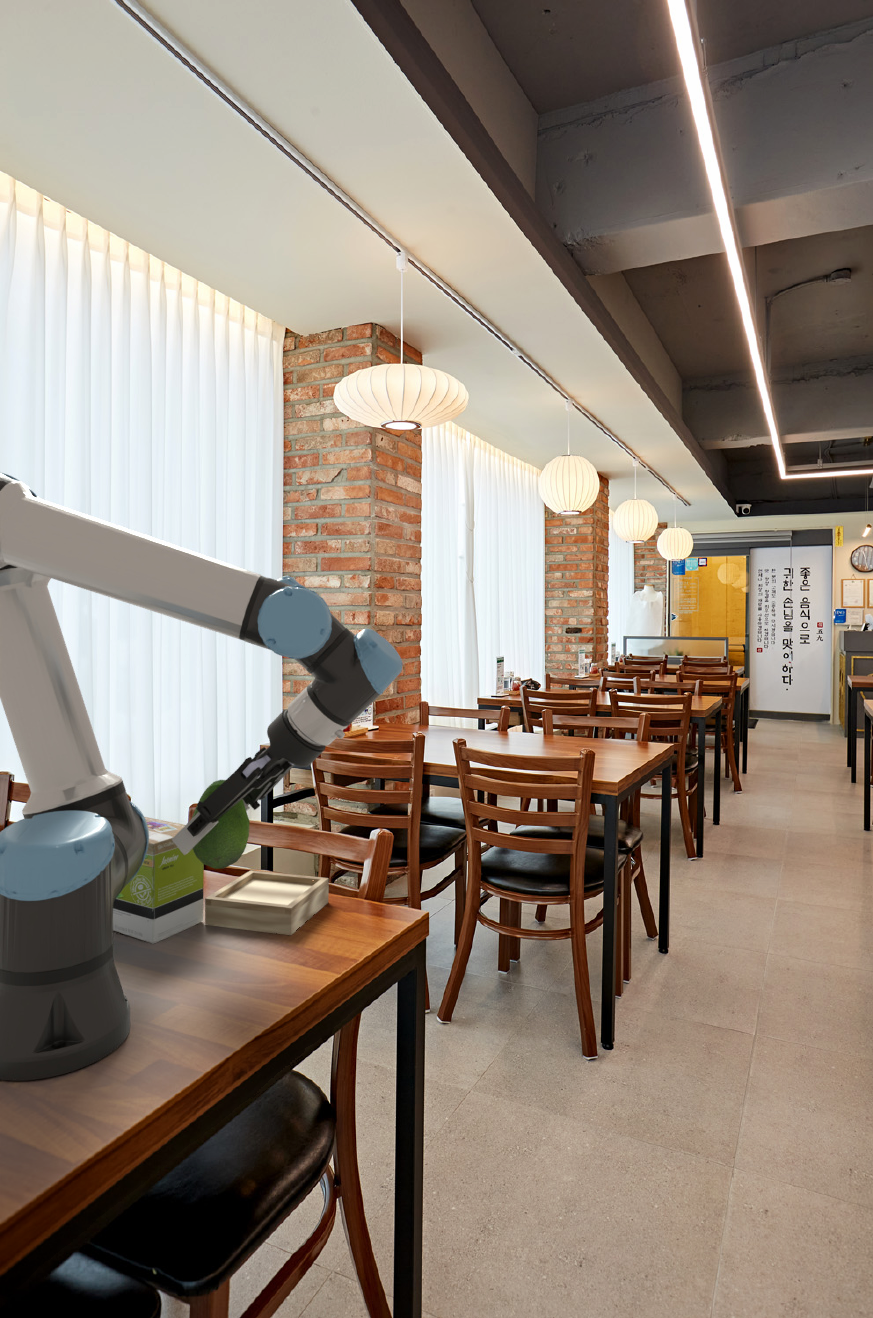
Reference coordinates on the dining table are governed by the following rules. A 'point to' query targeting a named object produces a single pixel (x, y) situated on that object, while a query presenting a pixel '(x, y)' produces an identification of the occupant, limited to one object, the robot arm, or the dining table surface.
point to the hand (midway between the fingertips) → (197, 838)
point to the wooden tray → (267, 902)
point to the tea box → (161, 889)
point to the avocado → (223, 835)
